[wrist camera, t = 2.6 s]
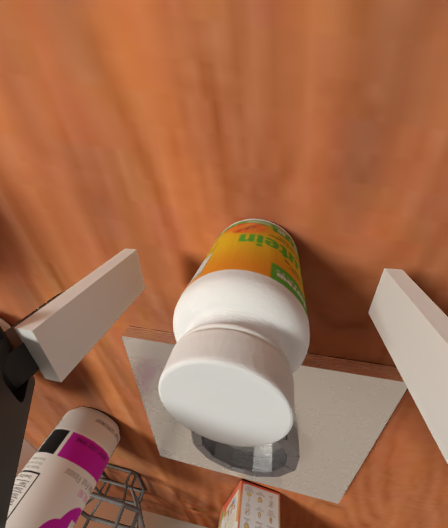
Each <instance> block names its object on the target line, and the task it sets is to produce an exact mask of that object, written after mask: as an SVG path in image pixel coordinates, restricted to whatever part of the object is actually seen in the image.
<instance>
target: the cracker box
mask: <svg viewBox="0 0 448 528" xmlns="http://www.w3.org/2000/svg"><path fill="white" fill-rule="evenodd" d="M218 528H280V493H278V492H276V491H273V490H270V489H267V488H264V487H261V486H258V485H255V484H252V483H250V482H247V481H244V480H241V481H240V482H239V484H238V485H237V487H236V488H235V490H234V491H233V493H232V494H231V496H230V497H229V499H228V500H227V502H226V503H225V505H224V506H223V508H222V509H221V514H220V520H219V527H218Z"/></svg>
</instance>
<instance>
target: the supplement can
mask: <svg viewBox="0 0 448 528" xmlns="http://www.w3.org/2000/svg"><path fill="white" fill-rule="evenodd" d="M119 431H120V430H119V427H118V425H117V424H116V423H115V422H114V421H113V420H112V419H111V418H110V417H108V416H107V415H105V414H103V413H102V412H100V411H97V410H95V409H92V408H88V407H78V408H76V409H74V410H70V411H68V412H67V413H66V414H65V416H64V417H63V418H62V419H61V421H60V422H59V423H58V425H57V426H56V427H55V428H54V430H53V431H52V432H51V434H50V435H49V436H48V437H47V439H46V440H45V441H44V443H43V444H42V445H41V446H40V448H39V449H38V450H37V452H36V453H35V454H34V455H33V457H32V458H31V459H30V461H29V462H28V463H27V465H26V466H25V467H24V468H23V470H22V471H21V472H20V474H19V475H18V476H17V477H16V479H15V482H14V487H13V492H12V497H11V502H10V507H9V511H8V516H7V521H6V526H5V528H73V527H74V525H75V524H76V521H77V520H78V518H79V516H80V514H81V512H82V510H83V508H84V507H85V505H86V503H87V501H88V499H89V497H90V495H91V493H92V492H93V490H94V488H95V486H96V484H97V482H98V480H99V478H100V477H101V475H102V473H103V471H104V469H105V467H106V465H107V463H108V461H109V460H110V458H111V456H112V454H113V452H114V450H115V448H116V446H117V444H118V443H119V440H120V435H119Z"/></svg>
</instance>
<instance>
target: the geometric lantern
mask: <svg viewBox="0 0 448 528" xmlns="http://www.w3.org/2000/svg"><path fill="white" fill-rule="evenodd" d="M106 466H107V467H110V468H114V469H117V470H121V471H124V472H127V473H129V475H128V477H127V480H126V482H125V484H122V483H118V482H115V481H111V480H110V479H108V478H106V477H105V475H104V473H102V477H103V478H99V481H103V482H104V483H103V485H102V487H101V489H100V491H99V489H98V488H97V487H96V486H95V488H94V489H95V490H96V492H97V493H95V492H92V493H91V495H90V497H92V498H91V499H90V500H88V501H87V503H86V505H87V504H88V503H89V502H90V501H92V500H93V499H95V498H96V499H99V502H98V504H97V505H96V507H95V509H94V510H93V512H92V513H91V515H89V514H87V513H86V512H84V511H83V510H82V512H81V515H82V516H84V517H85V518H86V519H87V520H86V522H85V524H84V526H83V528H86V527H87V525H88V523H89V521H90V520H92V521H96V522H99V523H103V524H106V525H110V526H113V528H135V525H136V528H138V518H139V521H140V525H141V528H145V525H144V521H143V516H142V512H141V505H140V503H141V501H142V498H143V495H144V492H145V489H144V487H143V484H142V482H141V480H140V478H139V476H138V474H137V473H136V472H134V471H131V470H128V469H124V468H121V467H117V466H114V465H110V464H107V465H106ZM131 474H133V475H135V476H134V479H133V481H132V484H131V486H130V485H128V484H127V483H128V481H129V478H130V476H131ZM136 478H137V480H138V482H139V484H140V486H141V488H142V490H140V489H137V488H134V487H133V485H134V482H135V480H136ZM106 483H110V484H109V486H108V488H107V490H106V492H105V494H103V493H101V492H102V490H103V488H104V486H105V484H106ZM111 484H113V485H117V486H121V487H124V488H125V491H124V496H123V499H119V498H115V497H110V496H106V494H107V492H108V490H109V488H110V486H111ZM127 489H130V490H131V493H132V497H133V500H134V502H132V501H128V500H125V498H126V493H127ZM134 491H137V492H140V494H139V496H138V498H137V496H136V494H135V492H134ZM140 496H141V497H140ZM139 499H140V500H139ZM101 501H105V502H108V503H112V504H115V505H118V506H121V508H120V511H119V514H118V516H117V519H116V521H115V522H113V521H110V520H106V519H102V518H99V517H95V516H93V514H94V512H95V511H96V509H97V507H98V506H99V504H100V502H101ZM130 504H132V505H130ZM133 505H135V506H133ZM124 508H126V509H128V510H131V511H133V512H136V515H135V517H134V520H133V522H132V525H131V526H127V525H124V524H120V523H119V521H120V519H121V516H122V513H123V511H124Z"/></svg>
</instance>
